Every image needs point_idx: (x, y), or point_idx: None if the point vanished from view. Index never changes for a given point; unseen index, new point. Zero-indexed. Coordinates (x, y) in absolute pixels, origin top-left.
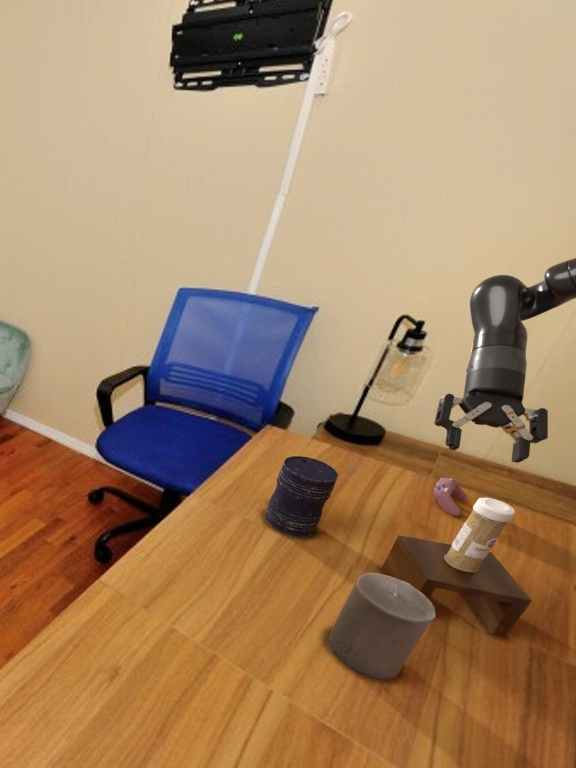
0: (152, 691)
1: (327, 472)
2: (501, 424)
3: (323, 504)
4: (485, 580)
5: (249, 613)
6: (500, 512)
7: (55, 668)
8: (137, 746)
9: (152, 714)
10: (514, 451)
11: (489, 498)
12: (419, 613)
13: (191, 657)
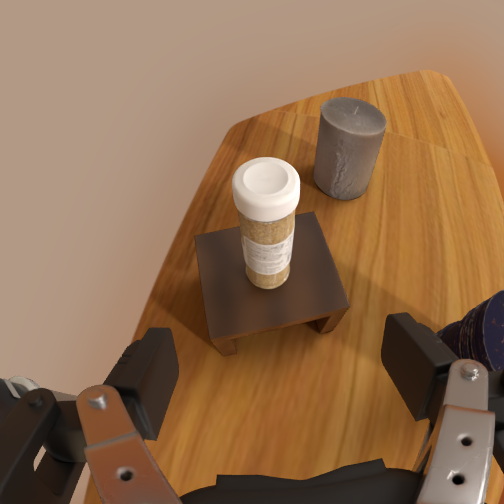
0: (424, 112)
1: (496, 342)
2: (231, 477)
3: (450, 340)
4: (240, 248)
5: (422, 180)
6: (264, 158)
7: (458, 111)
8: (410, 92)
9: (415, 103)
10: (164, 392)
11: (275, 198)
12: (333, 103)
13: (425, 133)
